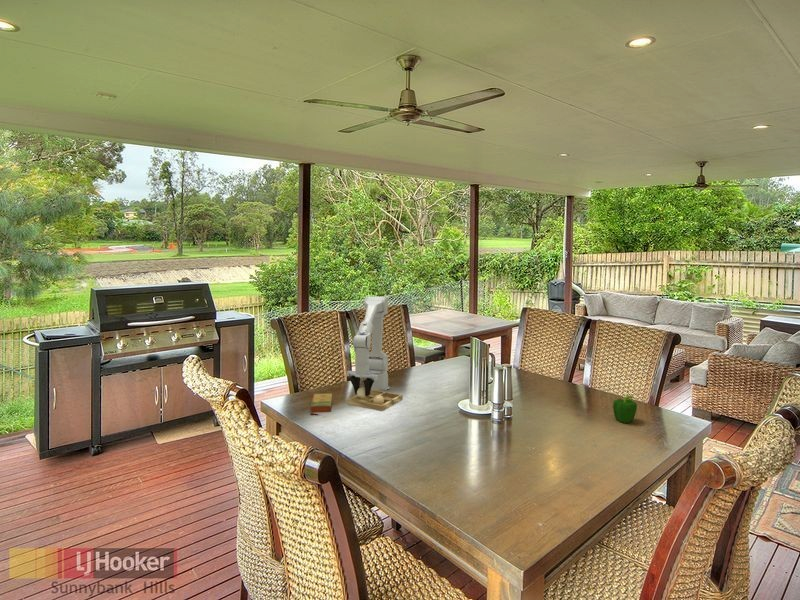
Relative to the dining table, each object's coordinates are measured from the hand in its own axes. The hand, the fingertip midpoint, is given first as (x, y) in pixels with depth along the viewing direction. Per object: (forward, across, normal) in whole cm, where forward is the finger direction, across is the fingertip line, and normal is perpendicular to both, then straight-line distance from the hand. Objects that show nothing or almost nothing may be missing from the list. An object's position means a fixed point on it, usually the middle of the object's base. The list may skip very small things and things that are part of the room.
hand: (362, 394), depth 205 cm
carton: (+5, -13, -11) cm, 18 cm away
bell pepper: (+5, +98, +35) cm, 104 cm away
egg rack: (+5, +4, +4) cm, 7 cm away
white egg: (+1, 0, 0) cm, 1 cm away
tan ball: (+4, +8, 0) cm, 9 cm away
